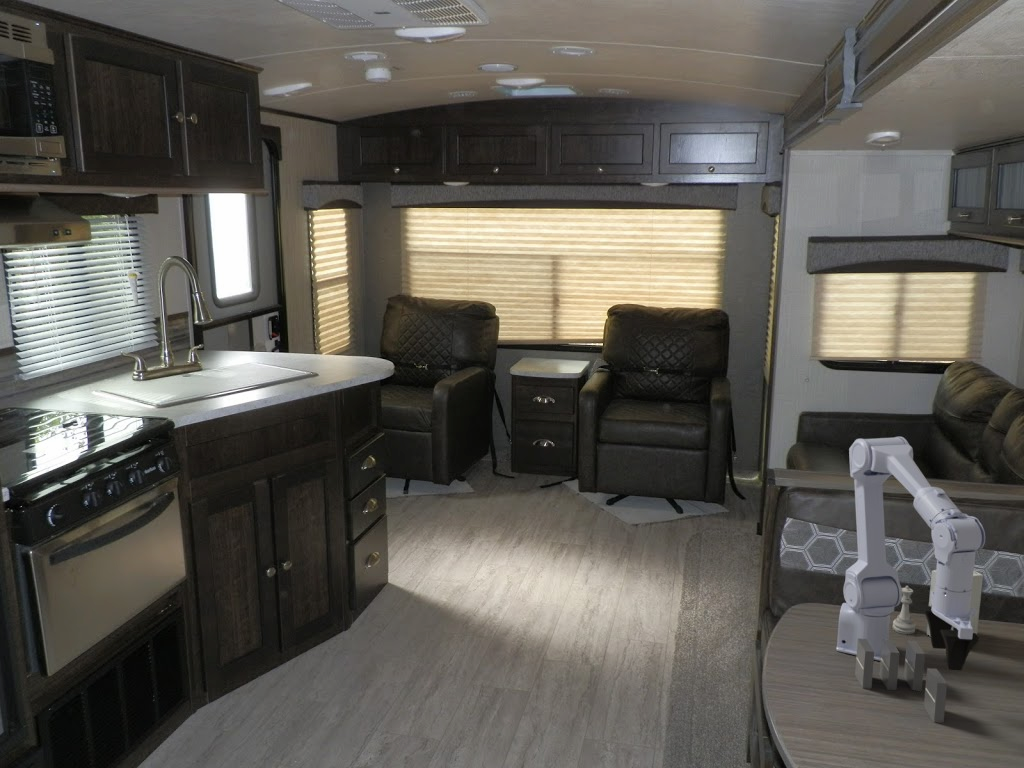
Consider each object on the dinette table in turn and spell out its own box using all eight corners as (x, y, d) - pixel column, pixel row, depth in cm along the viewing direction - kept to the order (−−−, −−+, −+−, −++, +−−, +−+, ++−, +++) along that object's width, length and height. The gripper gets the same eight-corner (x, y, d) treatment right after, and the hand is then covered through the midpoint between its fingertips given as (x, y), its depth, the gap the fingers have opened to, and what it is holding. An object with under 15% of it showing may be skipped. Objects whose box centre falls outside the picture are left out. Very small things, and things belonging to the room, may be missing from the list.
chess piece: (913, 636, 184) (917, 591, 182) (890, 631, 187) (894, 587, 185) (916, 628, 188) (920, 584, 186) (894, 623, 190) (897, 580, 188)
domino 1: (862, 688, 165) (864, 651, 163) (854, 674, 169) (857, 638, 168) (871, 688, 164) (874, 651, 163) (864, 675, 169) (866, 638, 168)
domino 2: (887, 689, 164) (890, 652, 163) (878, 675, 169) (881, 639, 168) (896, 689, 164) (899, 652, 163) (888, 676, 169) (891, 639, 167)
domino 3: (912, 690, 164) (915, 653, 162) (903, 676, 169) (906, 640, 167) (921, 691, 164) (925, 653, 162) (912, 677, 168) (916, 640, 167)
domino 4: (933, 722, 154) (937, 683, 152) (923, 706, 158) (926, 668, 157) (943, 722, 153) (947, 683, 152) (933, 707, 158) (936, 668, 157)
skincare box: (954, 628, 188) (961, 562, 185) (978, 641, 182) (985, 573, 179) (924, 635, 185) (930, 568, 182) (947, 648, 179) (953, 579, 177)
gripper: (995, 604, 144) (987, 680, 147) (962, 569, 159) (955, 639, 161) (949, 602, 145) (942, 678, 148) (920, 568, 159) (914, 637, 162)
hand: (946, 658), depth 155 cm, fingers open, 7 cm apart
